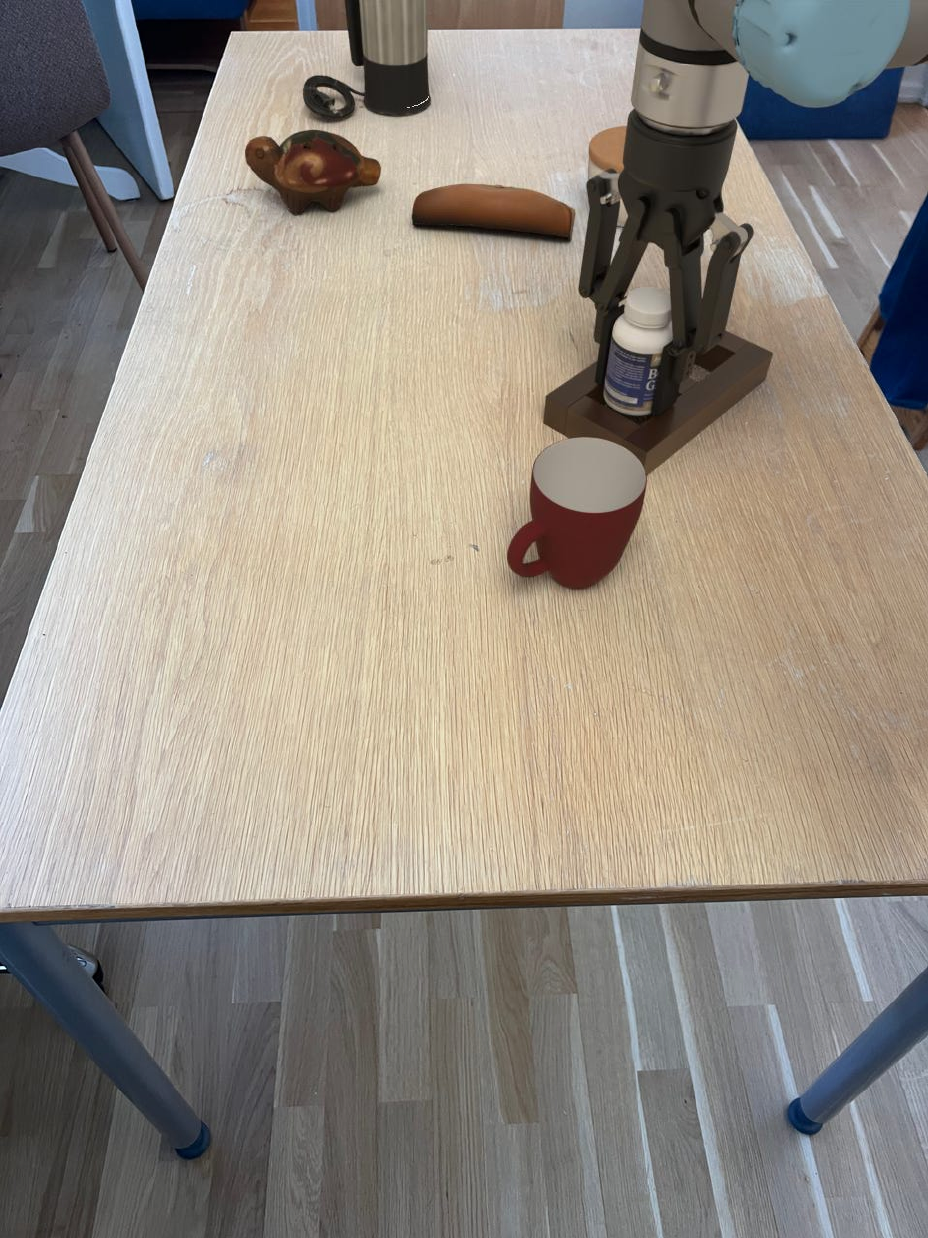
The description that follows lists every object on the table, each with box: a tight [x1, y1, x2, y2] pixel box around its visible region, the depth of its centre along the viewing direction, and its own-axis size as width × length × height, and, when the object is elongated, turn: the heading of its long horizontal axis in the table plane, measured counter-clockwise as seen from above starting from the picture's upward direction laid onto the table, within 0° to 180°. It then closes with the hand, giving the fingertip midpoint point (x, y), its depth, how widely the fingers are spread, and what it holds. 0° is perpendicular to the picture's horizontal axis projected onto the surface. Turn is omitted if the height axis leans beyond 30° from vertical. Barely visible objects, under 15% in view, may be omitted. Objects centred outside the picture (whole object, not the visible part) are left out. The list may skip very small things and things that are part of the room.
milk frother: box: [302, 0, 432, 120], centre depth 122 cm, size 14×16×15 cm
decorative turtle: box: [244, 129, 382, 215], centre depth 108 cm, size 10×15×8 cm, turn 108°
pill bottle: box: [604, 286, 673, 417], centre depth 79 cm, size 5×5×10 cm
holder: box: [542, 330, 774, 476], centre depth 86 cm, size 11×20×3 cm, turn 136°
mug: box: [506, 437, 648, 590], centre depth 69 cm, size 10×8×10 cm
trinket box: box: [587, 125, 628, 228], centre depth 105 cm, size 11×11×9 cm
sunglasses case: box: [411, 183, 576, 241], centre depth 106 cm, size 18×7×7 cm, turn 80°
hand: (634, 391), depth 82 cm, fingers closed on pill bottle, 5 cm apart
